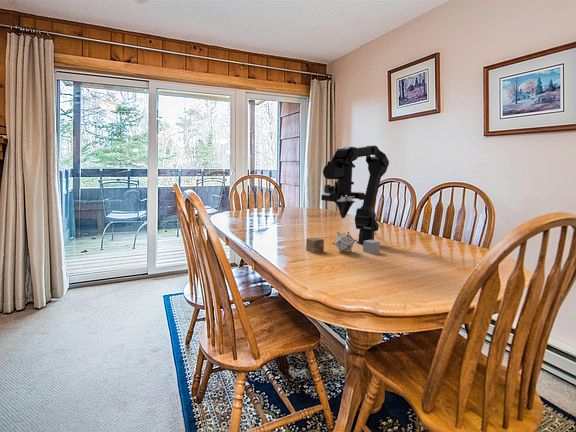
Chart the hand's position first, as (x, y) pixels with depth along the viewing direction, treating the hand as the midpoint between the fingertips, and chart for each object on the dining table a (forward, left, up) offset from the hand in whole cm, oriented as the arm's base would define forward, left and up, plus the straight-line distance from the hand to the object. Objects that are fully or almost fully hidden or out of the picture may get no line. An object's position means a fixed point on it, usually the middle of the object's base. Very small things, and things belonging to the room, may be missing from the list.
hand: (342, 218), depth 142 cm
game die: (+1, +2, -14) cm, 14 cm away
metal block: (+10, -5, -13) cm, 17 cm away
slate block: (-8, +8, -13) cm, 18 cm away
